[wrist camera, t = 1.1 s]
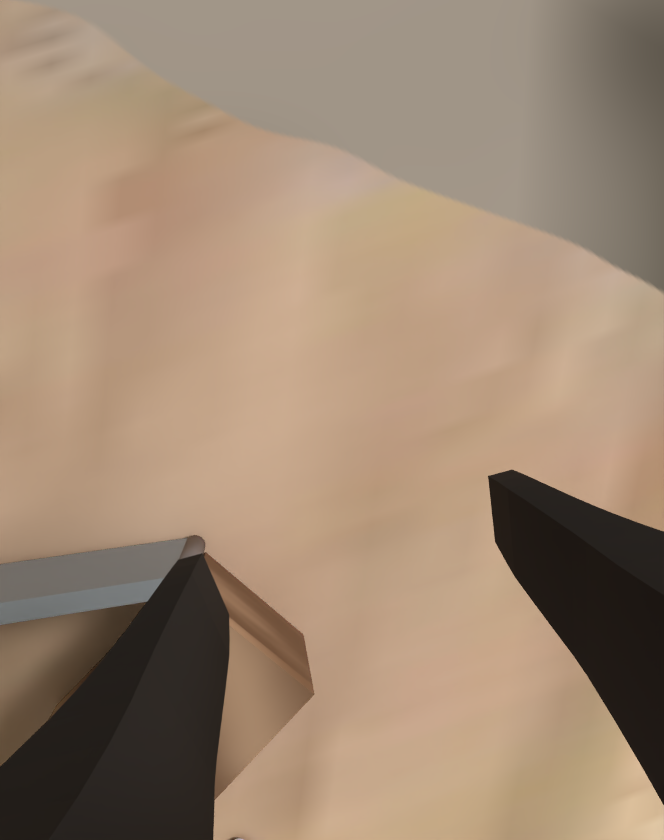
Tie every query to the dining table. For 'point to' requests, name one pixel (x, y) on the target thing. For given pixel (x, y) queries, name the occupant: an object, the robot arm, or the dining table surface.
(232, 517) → the dining table surface
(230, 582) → the cabinet
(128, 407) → the dining table surface
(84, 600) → the door
